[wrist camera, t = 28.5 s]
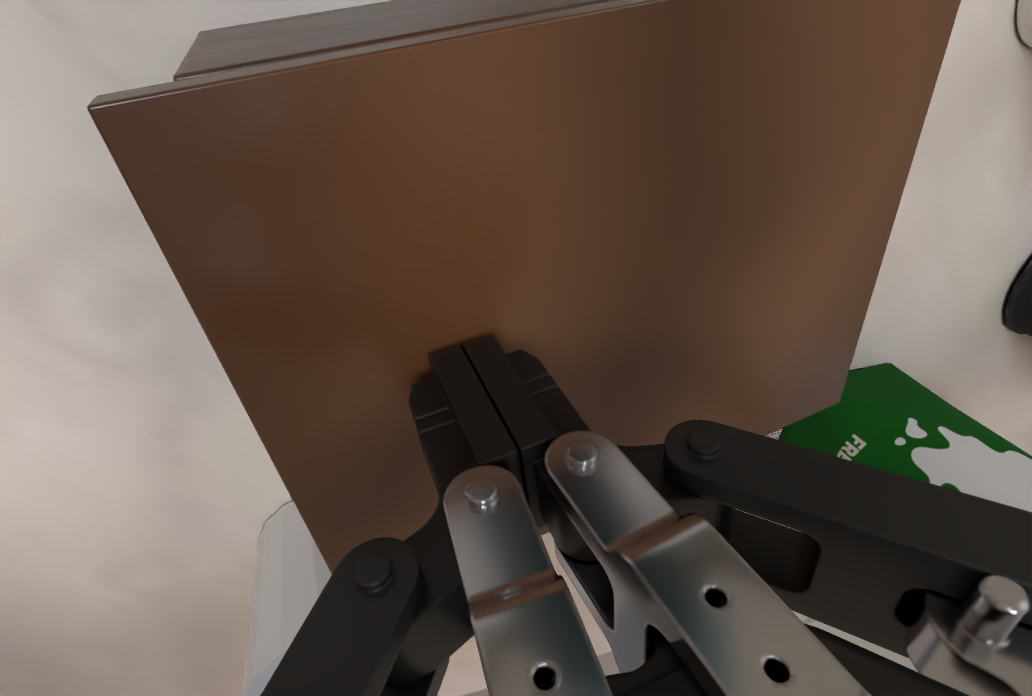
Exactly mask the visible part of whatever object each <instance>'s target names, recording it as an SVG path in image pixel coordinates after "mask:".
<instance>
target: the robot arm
mask: <svg viewBox="0 0 1032 696" xmlns="http://www.w3.org/2000/svg"><path fill="white" fill-rule="evenodd" d="M428 360H429V364H430V368H431V372H432V376H433V378H430V379H427V380H424V381H421V382H418V383H415V384H412V388H411V393H410V397H409V401H408V402H409V406H410V409H411V412H412V416H413V419H414V423H415V426H416V429H417V433H418V436H419V439H420V443H421V446H422V449H423V452H424V455H425V458H426V461H427V464H428V466H429V469H430V472H431V475H432V478H433V481H434V483H435V486H436V489H437V492H438V495H439V502H438V505H437V508H436V510H435V512H434V514H433V515H432V517H431V518H430V520H429V521H428V522H427V523H426V524H425V525H424V526H423V527H422V528H420V529H419V530H418V531H417V532H415V533H414V534H412V535H411V536H410V537H408V538H407V539H406V540H404V541H402V540H399V539H396V538H390V537H380V538H375V539H371V540H368V541H366V542H364V543H361V544H359V545H358V546H356V547H355V548H353V549H352V550H351V551H350V552H348V553H347V554H346V555H345V556H344V557H343V558H342V560H341V561H340V562H339V564H338V565H337V567H336V568H335V570H334V572H333V574H332V575H331V577H330V579H329V580H328V582H327V584H326V585H325V587H324V589H323V590H322V592H321V594H320V596H319V597H318V599H317V601H316V602H315V604H314V606H313V607H312V609H311V611H310V612H309V614H308V616H307V617H306V619H305V621H304V623H303V624H302V626H301V628H300V629H299V631H298V633H297V634H296V636H295V638H294V639H293V641H292V643H291V645H290V646H289V648H288V650H287V651H286V653H285V655H284V656H283V658H282V660H281V661H280V663H279V665H278V667H277V668H276V670H275V672H274V673H273V675H272V677H271V678H270V680H269V682H268V683H267V685H266V687H265V688H264V690H263V692H262V694H261V695H260V696H437V694H438V691H439V689H440V686H441V683H442V681H443V678H444V675H445V672H446V670H447V667H448V663H449V657H450V656H451V655H452V654H453V653H454V652H455V651H456V650H458V649H459V648H460V647H461V646H462V645H463V644H464V643H465V642H467V641H468V640H469V639H470V638H471V637H472V636H473V635H475V639H476V643H477V647H478V651H479V655H480V659H481V663H482V667H483V672H484V676H485V680H486V684H487V688H488V692H489V696H1032V512H1029V511H1026V510H1022V509H1019V508H1015V507H1012V506H1008V505H1005V504H1001V503H998V502H994V501H991V500H987V499H984V498H980V497H977V496H973V495H970V494H966V493H962V492H959V491H955V490H952V489H948V488H945V487H941V486H938V485H934V484H931V483H927V482H924V481H920V480H917V479H913V478H910V477H906V476H903V475H899V474H896V473H892V472H889V471H885V470H882V469H878V468H875V467H871V466H868V465H864V464H861V463H857V462H854V461H850V460H847V459H843V458H840V457H836V456H833V455H829V454H826V453H822V452H818V451H815V450H811V449H808V448H804V447H801V446H797V445H794V444H790V443H787V442H783V441H780V440H776V439H773V438H769V437H766V436H762V435H759V434H755V433H752V432H748V431H745V430H741V429H738V428H734V427H731V426H727V425H724V424H720V423H717V422H713V421H708V420H689V421H685V422H682V423H680V424H677V425H676V426H674V427H673V428H672V429H671V430H670V431H669V432H668V433H667V435H666V437H665V442H664V444H655V445H644V446H620V445H616V444H615V443H614V442H613V441H612V440H611V439H609V438H608V437H606V436H604V435H602V434H600V433H597V432H593V431H591V430H590V429H589V428H588V426H587V425H586V424H585V422H584V421H583V419H582V418H581V417H580V415H579V414H578V413H577V411H576V410H575V408H574V407H573V406H572V404H571V403H570V402H569V400H568V399H567V397H566V396H565V395H564V393H563V392H562V390H561V389H560V388H559V387H558V386H557V384H556V382H555V381H554V379H553V378H552V377H551V376H550V375H549V373H548V371H547V370H546V368H545V367H544V366H543V364H542V363H541V361H540V360H539V359H538V358H536V357H535V356H533V355H531V354H529V353H527V352H525V351H524V350H522V349H520V350H516V351H513V352H510V353H507V354H505V353H504V351H503V349H502V348H501V346H500V345H499V343H498V342H497V340H496V339H495V337H494V336H493V335H491V336H487V337H484V338H481V339H478V340H475V341H471V342H468V343H465V344H462V345H461V347H460V346H456V347H453V348H449V349H446V350H443V351H440V352H437V353H434V354H430V355H428ZM736 509H738V510H736ZM739 510H741V511H739ZM742 511H744V512H742ZM745 512H746V513H745ZM747 513H749V514H747ZM750 514H752V515H750ZM753 515H755V516H753ZM756 516H758V517H756ZM759 517H761V518H759ZM762 518H764V519H762ZM765 519H767V520H765ZM768 520H769V521H768ZM770 521H772V522H770ZM773 522H775V523H773ZM776 523H778V524H776ZM779 524H781V525H779ZM546 525H547V527H548V529H549V531H550V533H551V535H552V537H553V539H554V545H555V553H556V557H557V559H558V561H559V563H560V564H561V566H562V567H563V569H564V571H565V572H566V574H567V576H568V577H569V579H570V580H571V582H572V584H573V585H574V587H575V588H576V590H577V592H578V593H579V595H580V596H581V598H582V600H583V601H584V603H585V605H586V606H587V608H588V609H589V611H590V613H591V614H592V616H593V617H594V619H595V621H596V622H597V624H598V625H599V627H600V629H601V630H602V632H603V634H604V635H605V637H606V639H607V641H608V643H609V645H610V647H611V649H612V652H613V655H614V658H615V661H616V664H617V666H618V668H619V671H620V674H614V675H608V676H605V675H604V673H603V670H602V668H601V665H600V663H599V660H598V658H597V655H596V653H595V651H594V648H593V646H592V643H591V641H590V638H589V636H588V634H587V631H586V629H585V626H584V624H583V622H582V619H581V617H580V614H579V612H578V609H577V607H576V605H575V602H574V600H573V597H572V595H571V593H570V590H569V588H568V586H567V584H566V582H565V580H564V579H563V577H562V576H561V575H559V576H558V575H557V573H556V571H555V569H554V567H553V565H552V562H551V560H550V557H549V555H548V552H547V550H546V547H545V545H544V542H543V540H542V537H541V535H540V532H539V530H538V528H541V527H543V526H546ZM782 525H784V526H782ZM785 526H787V527H785ZM788 527H790V528H788ZM791 528H792V529H791ZM793 529H795V530H793ZM796 530H798V531H796ZM799 531H801V532H799ZM803 532H804V533H803ZM791 610H793V611H795V612H798V613H800V614H802V615H805V616H807V617H810V618H812V619H815V620H817V621H820V622H822V623H824V624H827V625H829V626H832V627H834V628H837V629H839V630H842V631H844V632H847V633H849V634H851V635H854V636H856V637H859V638H861V639H863V640H866V641H868V642H871V643H874V644H876V645H878V646H881V647H883V648H885V649H888V650H890V651H893V652H895V653H898V654H900V655H902V656H905V657H907V658H910V660H911V661H912V663H913V665H914V667H915V668H916V669H917V671H918V672H919V673H918V672H916V671H914V670H911V669H909V668H907V667H905V666H902V665H900V664H898V663H896V662H894V661H891V660H889V659H887V658H884V657H882V656H880V655H878V654H875V653H873V652H871V651H869V650H867V649H865V648H862V647H860V646H858V645H855V644H853V643H851V642H849V641H847V640H844V639H842V638H840V637H838V636H835V635H833V634H831V633H829V632H826V631H824V630H822V629H819V628H816V627H814V626H810V625H807V624H804V623H803V622H802V621H801V620H800V619H799V618H798V617H797V616H796V615H795V614H794V613H793V612H792V611H791Z"/></svg>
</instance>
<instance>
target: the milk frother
mask: <svg viewBox="0 0 1032 696" xmlns="http://www.w3.org/2000/svg"><path fill="white" fill-rule="evenodd" d="M1005 321H1006V324H1007V326H1008V328H1009V329H1010V330H1012V331H1013V332H1016V333H1018V334H1028V335H1030V336H1032V259H1031V261H1030V262H1029V264H1028V265H1027V266H1026V268H1025V269H1024V271H1023V272H1022V274H1021V275H1020V277H1019V278H1018V280H1017V282H1016V283H1015V285H1014V287H1013V290H1012V292H1011V294H1010V296H1009V299H1008V302H1007V305H1006V314H1005Z"/></svg>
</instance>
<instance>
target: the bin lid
mask: <svg viewBox="0 0 1032 696" xmlns="http://www.w3.org/2000/svg"><path fill="white" fill-rule="evenodd" d="M960 2H961V0H617V1H611V2H606V3H600V4H595V5H590V6H584V7H579V8H573V9H568V10H562V11H557V12H551V13H546V14H540V15H535V16H530V17H524V18H519V19H513V20H508V21H502V22H497V23H491V24H486V25H480V26H475V27H470V28H464V29H459V30H453V31H448V32H442V33H437V34H431V35H426V36H420V37H415V38H410V39H404V40H399V41H393V42H388V43H382V44H377V45H371V46H366V47H360V48H355V49H350V50H344V51H339V52H333V53H328V54H322V55H317V56H311V57H306V58H300V59H295V60H290V61H284V62H279V63H273V64H268V65H262V66H257V67H251V68H246V69H240V70H235V71H230V72H224V73H219V74H213V75H208V76H202V77H197V78H191V79H186V80H180V81H175V82H170V83H164V84H159V85H153V86H148V87H142V88H137V89H131V90H126V91H120V92H115V93H110V94H104V95H99V96H97V97H95V98H94V99H93V101H92V102H91V103H90V104H89V105H88V106H87V108H88V111H89V113H90V115H91V117H92V119H93V121H94V123H95V125H96V127H97V129H98V130H99V132H100V134H101V136H102V138H103V140H104V142H105V144H106V146H107V148H108V149H109V151H110V153H111V155H112V157H113V159H114V161H115V163H116V165H117V167H118V168H119V170H120V172H121V174H122V176H123V178H124V180H125V182H126V184H127V186H128V188H129V189H130V191H131V193H132V195H133V197H134V199H135V201H136V203H137V205H138V207H139V208H140V210H141V212H142V214H143V216H144V218H145V220H146V222H147V224H148V226H149V227H150V229H151V231H152V233H153V235H154V237H155V239H156V241H157V243H158V245H159V247H160V248H161V250H162V252H163V254H164V256H165V258H166V260H167V262H168V264H169V266H170V267H171V269H172V271H173V273H174V275H175V277H176V279H177V281H178V283H179V285H180V286H181V288H182V290H183V292H184V294H185V296H186V298H187V300H188V302H189V304H190V306H191V307H192V309H193V311H194V313H195V315H196V317H197V319H198V321H199V323H200V325H201V326H202V328H203V330H204V332H205V334H206V336H207V338H208V340H209V342H210V344H211V346H212V347H213V349H214V351H215V353H216V355H217V357H218V359H219V361H220V363H221V365H222V366H223V368H224V370H225V372H226V374H227V376H228V378H229V380H230V382H231V384H232V385H233V387H234V389H235V391H236V393H237V395H238V397H239V399H240V401H241V403H242V405H243V406H244V408H245V410H246V412H247V414H248V416H249V418H250V420H251V422H252V424H253V425H254V427H255V429H256V431H257V433H258V435H259V437H260V439H261V441H262V443H263V444H264V446H265V448H266V450H267V452H268V454H269V456H270V458H271V460H272V462H273V464H274V465H275V467H276V469H277V471H278V473H279V475H280V477H281V479H282V481H283V483H284V484H285V486H286V488H287V490H288V492H289V494H290V496H291V498H292V500H293V502H294V503H295V505H296V507H297V509H298V511H299V513H300V515H301V517H302V519H303V521H304V523H305V524H306V526H307V528H308V530H309V532H310V534H311V536H312V538H313V540H314V542H315V543H316V545H317V547H318V549H319V551H320V553H321V555H322V557H323V559H324V561H325V562H326V564H327V566H328V568H329V570H330V572H331V574H333V572H334V570H335V568H336V567H337V565H338V564H339V562H340V561H341V560H342V558H343V557H344V556H345V555H346V554H347V553H348V552H350V551H351V550H352V549H353V548H355V547H356V546H358V545H359V544H361V543H364V542H366V541H368V540H371V539H375V538H380V537H390V538H396V539H399V540H402V541H404V540H406V539H407V538H408V537H410V536H411V535H412V534H414V533H415V532H417V531H418V530H419V529H420V528H422V527H423V526H424V525H425V524H426V523H427V522H428V521H429V520H430V518H431V517H432V515H433V514H434V512H435V510H436V508H437V505H438V502H439V495H438V492H437V489H436V486H435V483H434V481H433V478H432V475H431V472H430V469H429V466H428V464H427V461H426V458H425V455H424V452H423V449H422V446H421V443H420V439H419V436H418V433H417V429H416V426H415V423H414V419H413V416H412V412H411V409H410V406H409V402H408V401H409V397H410V393H411V388H412V384H415V383H418V382H421V381H424V380H427V379H430V378H433V376H432V372H431V368H430V364H429V360H428V355H430V354H434V353H437V352H440V351H443V350H446V349H449V348H453V347H456V346H460V347H461V345H462V344H465V343H468V342H471V341H475V340H478V339H481V338H484V337H487V336H491V335H493V336H494V337H495V339H496V340H497V342H498V343H499V345H500V346H501V348H502V349H503V351H504V353H505V354H507V353H510V352H513V351H516V350H520V349H522V350H524V351H525V352H527V353H529V354H531V355H533V356H535V357H536V358H538V359H539V360H540V361H541V363H542V364H543V366H544V367H545V368H546V370H547V371H548V373H549V375H550V376H551V377H552V378H553V379H554V381H555V382H556V384H557V386H558V387H559V388H560V389H561V390H562V392H563V393H564V395H565V396H566V397H567V399H568V400H569V402H570V403H571V404H572V406H573V407H574V408H575V410H576V411H577V413H578V414H579V415H580V417H581V418H582V419H583V421H584V422H585V424H586V425H587V426H588V428H589V429H590V430H591V431H593V432H597V433H600V434H602V435H604V436H606V437H608V438H609V439H611V440H612V441H613V442H614V443H615V444H616V445H620V446H644V445H655V444H664V442H665V437H666V435H667V433H668V432H669V431H670V430H671V429H672V428H673V427H674V426H676V425H677V424H680V423H682V422H685V421H689V420H708V421H713V422H717V423H720V424H724V425H727V426H731V427H734V428H738V429H741V430H745V431H748V432H752V433H755V434H759V435H762V436H765V435H767V434H770V433H772V432H774V431H776V430H779V429H781V428H783V427H785V426H788V425H790V424H792V423H794V422H797V421H799V420H801V419H803V418H806V417H808V416H810V415H812V414H815V413H817V412H819V411H821V410H824V409H826V408H828V407H830V406H832V405H835V404H837V403H839V402H840V398H841V395H842V392H843V388H844V385H845V382H846V379H847V375H848V372H849V369H850V365H851V362H852V359H853V355H854V352H855V349H856V345H857V342H858V339H859V336H860V332H861V329H862V326H863V322H864V319H865V316H866V312H867V309H868V306H869V302H870V299H871V296H872V293H873V289H874V286H875V283H876V279H877V276H878V273H879V269H880V266H881V263H882V260H883V256H884V253H885V250H886V246H887V243H888V240H889V236H890V233H891V230H892V226H893V223H894V220H895V217H896V213H897V210H898V207H899V203H900V200H901V197H902V193H903V190H904V187H905V183H906V180H907V177H908V174H909V170H910V167H911V164H912V160H913V157H914V154H915V150H916V147H917V144H918V140H919V137H920V134H921V131H922V127H923V124H924V121H925V117H926V114H927V111H928V107H929V104H930V101H931V97H932V94H933V91H934V88H935V84H936V81H937V78H938V74H939V71H940V68H941V64H942V61H943V58H944V54H945V51H946V48H947V45H948V41H949V38H950V35H951V31H952V28H953V25H954V21H955V18H956V15H957V11H958V8H959V5H960ZM538 530H539V532H540V535H543V534H546V533H548V532H550V531H549V529H548V527H547V525H546V526H543V527H541V528H538Z"/></svg>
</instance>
